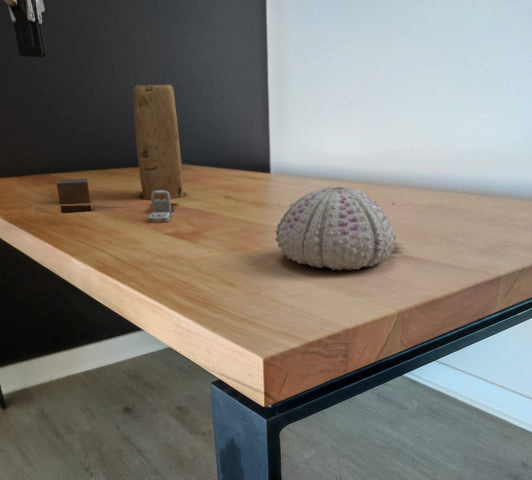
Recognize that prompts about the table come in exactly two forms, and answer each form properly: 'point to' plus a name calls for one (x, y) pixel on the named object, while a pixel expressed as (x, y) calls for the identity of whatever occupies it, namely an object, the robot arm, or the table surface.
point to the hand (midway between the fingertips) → (33, 56)
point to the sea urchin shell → (336, 230)
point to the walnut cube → (73, 195)
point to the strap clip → (161, 207)
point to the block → (157, 141)
